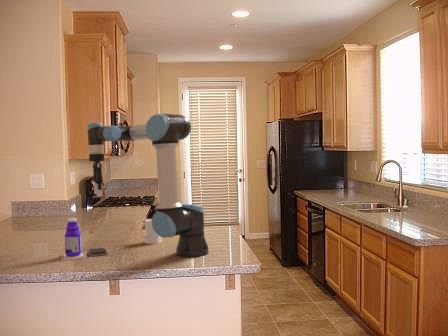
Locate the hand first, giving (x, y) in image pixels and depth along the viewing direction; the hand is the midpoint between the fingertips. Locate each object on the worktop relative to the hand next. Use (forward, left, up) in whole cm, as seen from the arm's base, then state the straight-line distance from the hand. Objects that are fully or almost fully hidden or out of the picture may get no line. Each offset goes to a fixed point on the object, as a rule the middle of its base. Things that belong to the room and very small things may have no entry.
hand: (98, 195), depth 231 cm
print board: (-15, +14, -27) cm, 34 cm away
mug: (-3, -25, -27) cm, 37 cm away
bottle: (-15, +14, -26) cm, 33 cm away
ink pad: (-15, +3, -27) cm, 31 cm away
